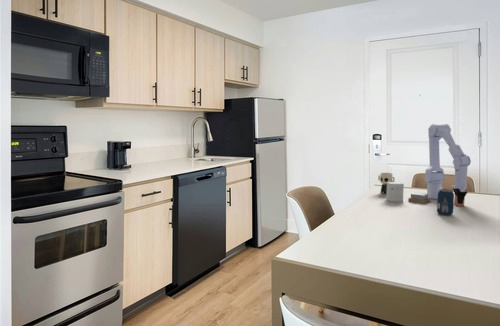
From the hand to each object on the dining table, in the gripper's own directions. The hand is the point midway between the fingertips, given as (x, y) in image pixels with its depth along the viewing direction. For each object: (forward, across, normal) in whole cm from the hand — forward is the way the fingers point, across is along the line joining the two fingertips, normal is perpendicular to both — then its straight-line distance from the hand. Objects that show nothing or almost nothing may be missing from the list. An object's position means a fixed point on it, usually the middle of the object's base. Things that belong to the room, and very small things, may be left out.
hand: (459, 202), depth 194 cm
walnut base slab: (+2, -3, -19) cm, 20 cm away
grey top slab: (0, -3, -20) cm, 20 cm away
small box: (+2, -1, -33) cm, 33 cm away
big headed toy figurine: (+2, -22, -37) cm, 43 cm away
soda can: (+2, +25, -10) cm, 27 cm away
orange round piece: (+1, 0, 0) cm, 1 cm away
